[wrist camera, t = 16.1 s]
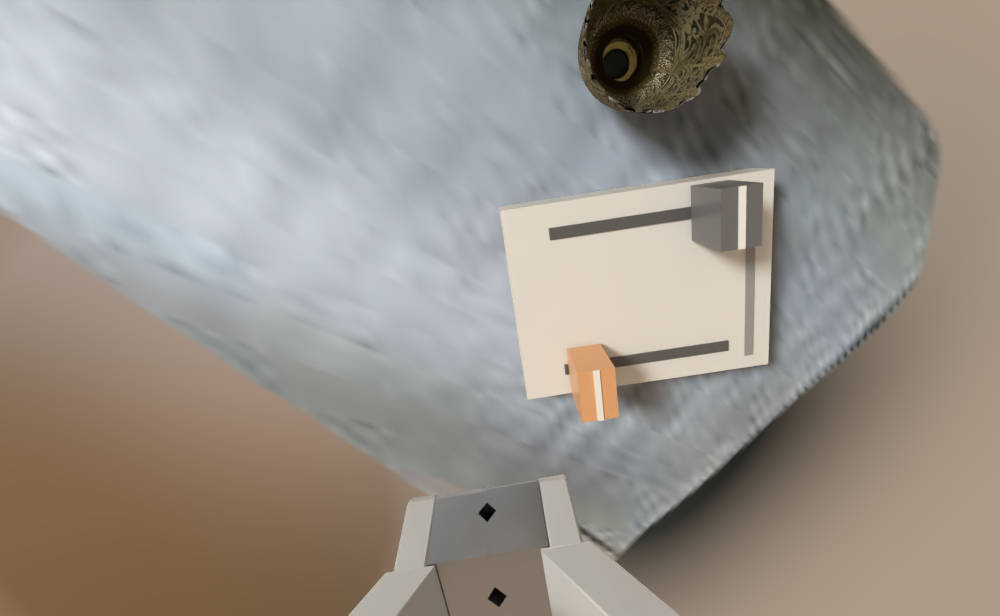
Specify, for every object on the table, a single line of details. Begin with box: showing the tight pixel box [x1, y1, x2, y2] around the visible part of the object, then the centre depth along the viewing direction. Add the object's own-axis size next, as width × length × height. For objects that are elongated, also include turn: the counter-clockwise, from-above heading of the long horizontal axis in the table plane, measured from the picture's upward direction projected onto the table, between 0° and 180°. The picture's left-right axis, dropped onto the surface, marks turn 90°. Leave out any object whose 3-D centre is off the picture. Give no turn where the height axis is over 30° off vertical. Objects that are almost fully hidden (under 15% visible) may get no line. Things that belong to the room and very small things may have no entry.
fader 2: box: [691, 180, 763, 252], centre depth 28 cm, size 4×2×4 cm, turn 8°
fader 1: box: [567, 344, 619, 423], centre depth 32 cm, size 4×2×4 cm, turn 8°
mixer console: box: [499, 168, 775, 399], centre depth 34 cm, size 14×18×3 cm
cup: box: [578, 0, 733, 114], centre depth 27 cm, size 8×7×8 cm
